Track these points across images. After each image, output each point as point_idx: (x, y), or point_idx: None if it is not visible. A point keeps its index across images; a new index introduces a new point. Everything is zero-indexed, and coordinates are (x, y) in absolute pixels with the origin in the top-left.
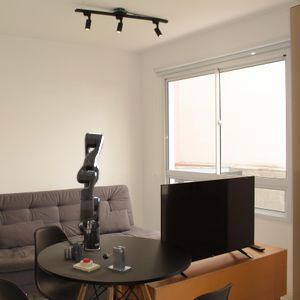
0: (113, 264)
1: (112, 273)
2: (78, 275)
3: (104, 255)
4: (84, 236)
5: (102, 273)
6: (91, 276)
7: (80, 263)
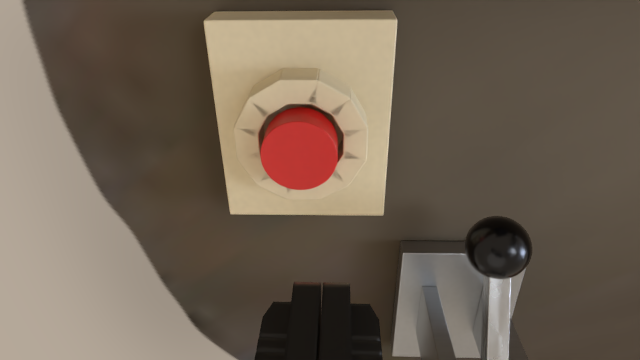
0: (425, 310)
1: (355, 300)
2: (141, 160)
3: (476, 261)
4: (255, 358)
5: (309, 257)
6: (204, 239)
7: (246, 100)
